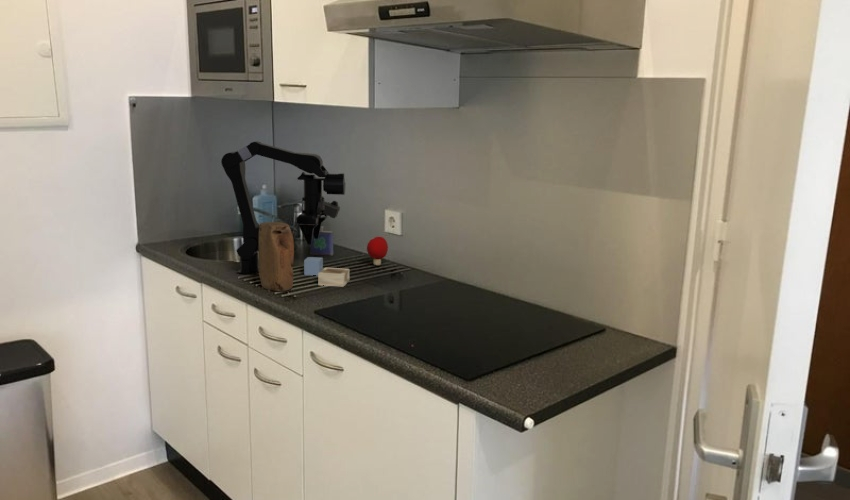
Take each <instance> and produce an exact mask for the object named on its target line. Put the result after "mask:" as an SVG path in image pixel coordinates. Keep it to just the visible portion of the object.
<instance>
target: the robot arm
mask: <svg viewBox="0 0 850 500" xmlns="http://www.w3.org/2000/svg"><path fill="white" fill-rule="evenodd" d="M255 156H260V157H264V158H268V159H271V160H274V161H278V162H283V163H286V164H289V165H291V166H294V167H295V168H297V169H299V170H301V171H302V172H301V174H300V175H299V176H298V177H297V181H302V180H303V197H302V202H303V209H302V213H300V214H299V215H298V216H296V218H295V219H296V224H297V226H298V227H299V229H300V232H301V233H302V235H303V238H304V239H305V242H306V243H307V245H310V244H312V238H313V235H314V238H315V239H318V237H319V233H320V229H321V226H322V225H323V222H324V221H325V220H327V218H328V217H330V218H331V219H336V218H337V217H338V214H339V212H340V209H341V207H340V206H339V202H338V201H336V200H333V201H332V202H330V201H329V202H327V201H325V197H324V196H323V192H324V193H326V195H335V196H336V195H338V196H339V195H340V196H343V195H346V178H345V173H344V172H343V173H330V172H329V171H328V170H327V169H326V167H325V166H324V164H323V163H324V162H323V159H322V158H321V156H320V155H318V154H316V153H305V152H294V151H292V150H291V151H290V150H287V149H284V148H280V147H277V146H273V145H269V144H266V143H262V142H260V141H258V140H257V141H252V142H250V143H249V144H248V145H246V146H244V147H242V148H240V149H239V150H236V151H230V152H228V153H225V154H224V155H223V156H222V157H221V166H222V168H223V170H224V172H225V175H226V176H227V177H228V179H229V180H230V182H231V185H232V188H233V189H232V190H233V192H234V195H235V199H236V203H237V207H238V211H239V214H240V219H241V222H242V240H243V242H242V244H241V245H240V246H239V247H238V248H237V249H236V253H237V255H238V257H239V265H240V268H239V269H238V270H237V271H236V274H241V275H242V274H244V275H257V274H259V255H258V252H259V248H258V247H259V226H260V224H259V223H258V221H257V218H256V214H255V211H254V208H253V203H252V199H251V196H250V192H249V189H248V184H247V181H246V162H247V161H248V160H250V159H252V158H253V157H255ZM316 176H317V177H316ZM322 181H323V182H322Z"/></svg>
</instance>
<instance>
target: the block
mask: <svg viewBox="0 0 850 500" xmlns="http://www.w3.org/2000/svg"><path fill="white" fill-rule="evenodd" d="M259 225H260V226H259V247H258V248H259V251H258V252H257V253H258V268H259V272H258V275H259V280H260V284H261V287H262V288H264V289H265V290H269V291H274V292H285V291H289V290H291V289H293V285H294V269H293V266H294V260H295V259H294V258H295V244H294V235H293V233H292V232H293V231H292V230H291V226H290V225H289V224H288V223H286V222H285V223H284V222H283V221H282V222H281V221H273V222H270V221H269V222H268V221H265V222H260V224H259Z"/></svg>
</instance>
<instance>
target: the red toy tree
mask: <svg viewBox="0 0 850 500" xmlns="http://www.w3.org/2000/svg"><path fill="white" fill-rule="evenodd" d="M388 249H389V245H388V241H387V240H386V239H385V238H384V237H382V236H376V237H373V238H372V239H370V240H369V242H368V243H367V245H366V251H367V254H368V255H369V256H370V257H371V258H372V259H373V260H372V263H373V265H374V266H375V267H379V266H381V264H382V259H384V258H385V257H386V256H387V255H388Z"/></svg>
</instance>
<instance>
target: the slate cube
mask: <svg viewBox="0 0 850 500" xmlns="http://www.w3.org/2000/svg"><path fill="white" fill-rule="evenodd" d="M303 266H304V267H303V269H304V270H303V274H304V276H313V275H316V276H315V277H318V273H319V272H320V271H322V270H323V269H324V258H323V257H317V256H316V257H315V256H307V257H306V258H305V259H304V261H303Z"/></svg>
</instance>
